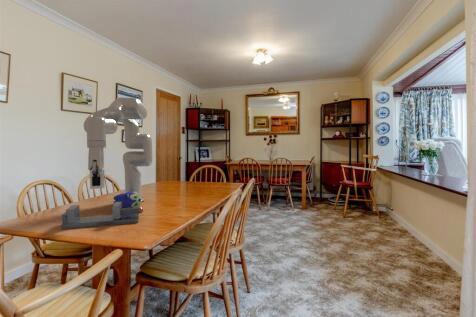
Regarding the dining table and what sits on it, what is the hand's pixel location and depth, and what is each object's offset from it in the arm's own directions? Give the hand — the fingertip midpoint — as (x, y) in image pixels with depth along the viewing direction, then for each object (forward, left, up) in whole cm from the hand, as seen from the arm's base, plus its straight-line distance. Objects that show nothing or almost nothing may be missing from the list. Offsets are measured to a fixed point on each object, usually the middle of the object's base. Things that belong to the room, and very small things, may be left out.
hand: (97, 184), depth 120 cm
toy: (-23, +10, -18) cm, 31 cm away
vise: (0, +2, -18) cm, 18 cm away
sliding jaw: (0, +13, -15) cm, 20 cm away
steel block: (0, 0, -2) cm, 2 cm away
